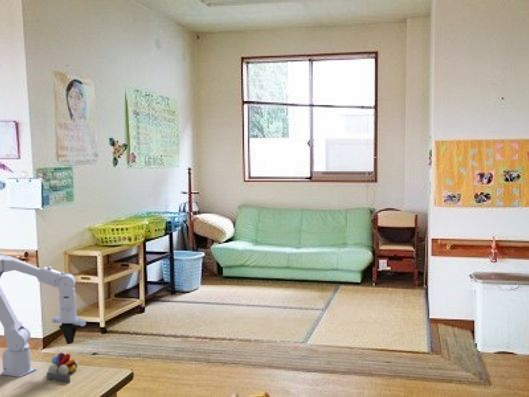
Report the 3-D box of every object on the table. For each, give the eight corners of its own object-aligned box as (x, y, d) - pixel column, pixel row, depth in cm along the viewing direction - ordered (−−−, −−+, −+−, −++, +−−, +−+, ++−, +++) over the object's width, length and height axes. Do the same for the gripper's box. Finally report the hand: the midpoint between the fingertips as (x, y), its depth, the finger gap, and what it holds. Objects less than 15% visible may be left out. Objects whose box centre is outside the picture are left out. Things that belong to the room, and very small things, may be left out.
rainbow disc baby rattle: (68, 377, 203) (67, 357, 203) (44, 376, 206) (43, 356, 205) (81, 369, 211) (80, 350, 211) (58, 367, 214) (57, 348, 213)
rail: (47, 379, 202) (46, 372, 202) (48, 378, 202) (48, 371, 202) (68, 383, 198) (68, 376, 197) (70, 382, 198) (70, 375, 198)
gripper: (90, 305, 212) (92, 341, 213) (61, 303, 218) (63, 338, 219) (77, 310, 205) (79, 347, 206) (47, 307, 211) (49, 343, 212)
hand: (70, 343), depth 212 cm, fingers closed
